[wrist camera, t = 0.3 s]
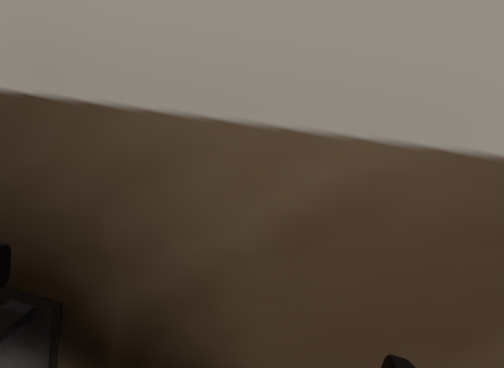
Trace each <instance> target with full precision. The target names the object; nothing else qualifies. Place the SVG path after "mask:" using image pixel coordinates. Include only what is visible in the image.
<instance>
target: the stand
mask: <svg viewBox="0 0 504 368" xmlns="http://www.w3.org/2000/svg"><path fill="white" fill-rule="evenodd" d="M60 317H61V303H59V302H56V301H52V300H49V299H45V298H41V297H38V296H34V295H31V294H27V293H24V292H20V291H17V290H13V289H10V288H6V287H3V288H2V289H1V290H0V368H57V360H58V346H59V331H60Z"/></svg>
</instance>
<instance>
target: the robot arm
mask: <svg viewBox="0 0 504 368" xmlns="http://www.w3.org/2000/svg"><path fill="white" fill-rule="evenodd" d="M10 267H11V247H10V246H9V245H8V244H7V243H3V242H0V290H1V289H2V288H3V287H4V286H5V285H6V283H7V282H8V280H9V277H10ZM381 368H415V367H414V366H413V365H412V364H411V363H410V362H409V361H408V360H407V359H405V358H401V357H398V356H394V355H390V354H389V355H387V356H386V357H385V359H384V362H383V364H382V367H381Z"/></svg>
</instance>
